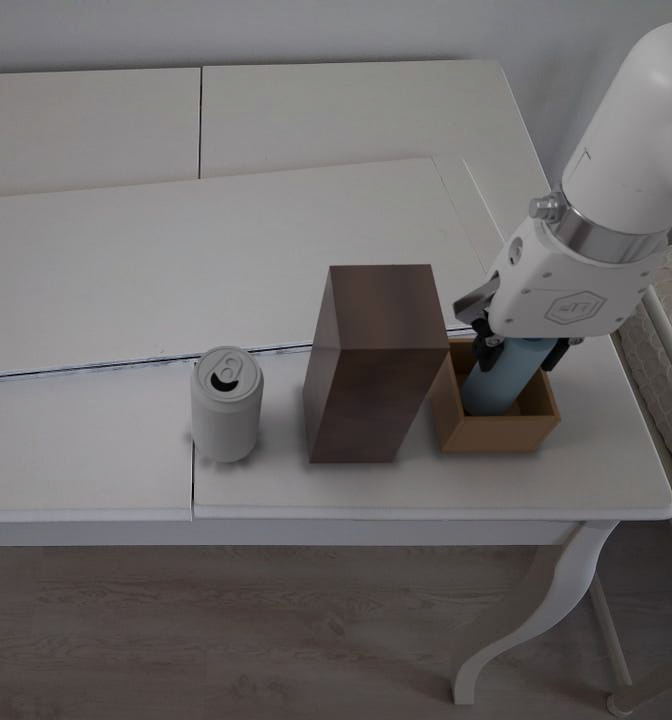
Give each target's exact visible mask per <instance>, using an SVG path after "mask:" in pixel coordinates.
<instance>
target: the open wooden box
mask: <svg viewBox="0 0 672 720" xmlns="http://www.w3.org/2000/svg"><path fill="white" fill-rule="evenodd" d="M474 339H475V337H451V338H450V337H448V340H449V344H450V350H449V352H448V354H447V356H446V358H445V360H444V362H443V364H442V366H441V368H440V370H439V372H438V374H437V375H436V377H435V379H434V381H433V383H432V385H431V387H430V389H429V391H428V397H429V402H430V405H431V411H432V416H433V421H434V427H435V430H436V435H437V436H436V437H437V441H438V445H439V450H440V453H507V452H509V453H514V452H515V453H516V452H536V450H537V449H538V448H539V446H541V444H542V443H543V442H544V441H545V440H546V439H547V437H548V436H549V435H550V434H551V433H552V432H553V431H554V430H555V428H556V427H557V426H558V425H559V424H560V422H561V421H562V417H561V414H560V411H559V408H558V405H557V402H556V398H555V395H554V392H553V388H552V386H551V381H550V379H549V376H548V373H547V372H544V371H543V370H542V369H541V367H540V366H539V368H538V369H537V370H536V372H535V373H534V374H533V376H532V377H531V379H530V380H529V381H528V383H527V384H526V385H525V387H524V388H523V389H522V391H521V392H520V394H519V395H518V396H517V398H516V399H515V400H514V402H513V403H512V404H511V406H510V407H509V409H508V410H507V411H506V413H505V414H504V415H503V416H473V415H471V414H470V413H468V412H467V411H466V409H465V408H464V407H463V405H462V403H461V399H460V391H461V388H462V387H463V385H464V383H465V382H466V380H467V378H468V376H469V375H470V373H471V371H472V370H473V368H474V366H475V365H476V363H477V361H478V359H474V357H473V354H472V343H473V341H474Z"/></svg>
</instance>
